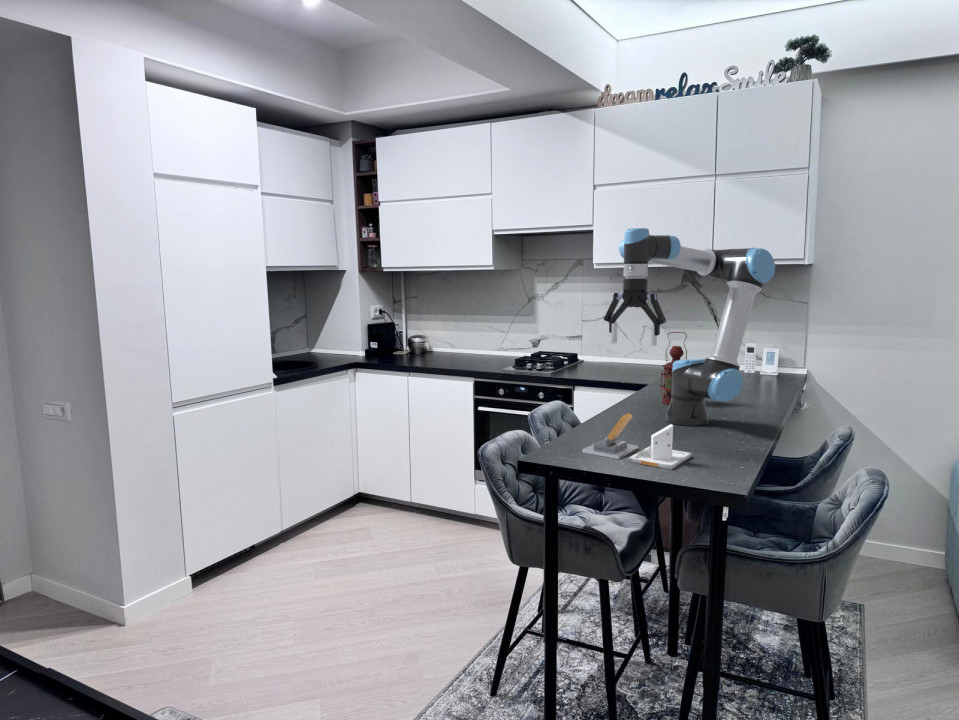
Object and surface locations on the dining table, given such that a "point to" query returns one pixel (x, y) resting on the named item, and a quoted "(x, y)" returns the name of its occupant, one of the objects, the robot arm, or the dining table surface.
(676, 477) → the dining table surface
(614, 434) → the block
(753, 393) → the dining table surface
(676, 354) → the lantern
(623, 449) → the panel
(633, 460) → the tray
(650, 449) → the white wedge bracket
